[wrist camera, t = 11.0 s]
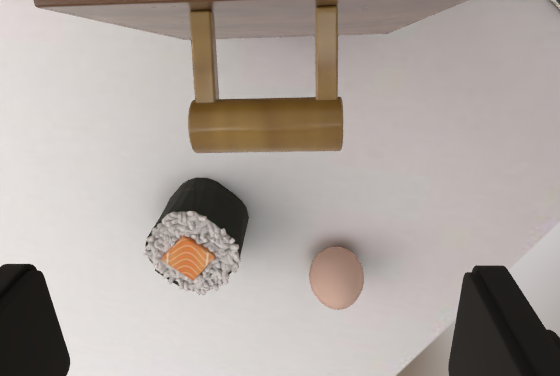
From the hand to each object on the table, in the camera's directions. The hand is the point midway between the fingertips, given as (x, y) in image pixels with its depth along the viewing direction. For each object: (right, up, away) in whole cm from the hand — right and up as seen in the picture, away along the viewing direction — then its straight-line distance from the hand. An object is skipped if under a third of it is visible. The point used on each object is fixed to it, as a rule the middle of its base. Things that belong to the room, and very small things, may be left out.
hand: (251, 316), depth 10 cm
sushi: (-7, 0, +37) cm, 38 cm away
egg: (+6, -4, +38) cm, 39 cm away
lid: (0, +11, +10) cm, 15 cm away
